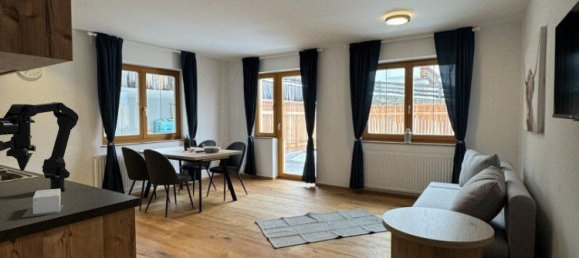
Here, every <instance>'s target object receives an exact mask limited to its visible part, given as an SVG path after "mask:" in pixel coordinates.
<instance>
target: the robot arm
mask: <svg viewBox="0 0 579 258" xmlns="http://www.w3.org/2000/svg"><path fill="white" fill-rule="evenodd" d="M50 112H52V114H53V116H54V117H55V118H56V124H57V127H58V131H57V134H56V137H55V140H54V143H53V144H54V145H53V148H52V151H51V155H50V157H49V158H45V159H44V160H43V164H42V165H41V168H42V169H41V170H42V173H43V176H44V178H45V179H49V190H51V189H61V192H65V191H66V190H67V187H66V186H65V181H66V179H68V178H70V175H71V172H70V171H69V170H68V169H66V162H65V158H64V157H65V154H66V150H67V145H68V142H69V138H70V135H71V131H72V130H73V128H75V127H76V126H77V123H78V121H79V120H80V119H79V118H80V117H79V115H78V113H77V112H76V111H74V109H72V108H70V107H68V106H67V105H65V104H64V103H63V102H58V101H55V102H54V101H53V102H50V103H48V102H47V103H40V104H38V103H37V104H30V103H29V104H28V103H26V104H25V103H14V104H11V105H10V107H9V109H8V111H7V112H6V113H5V115H4V116H3V117H0V136H5V135H6V136H8V135H12V136H11V137H10V140H7V141H3V140H0V152H3V151H5V150H6V152H5V153H6V157H11V158H14V159H15V160H16V161H17V164H18V167H19V170H20V171H22V172H23V171H25V169H26V168H27V165H28V163H29V162H30V160H31V157H32V155H33V154H34V153H33V152H36V149H37V146H36V145H35V144H32V143H31V142H32V140H31V139H32V138H33V136H32V134H31V132H32V131H31V124H34V123H36V121H35V120H34V119H33V118H32V117H35V116H37V115H39V114H44V113H50Z"/></svg>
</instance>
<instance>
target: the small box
mask: <svg viewBox="0 0 579 258" xmlns="http://www.w3.org/2000/svg"><path fill="white" fill-rule="evenodd" d="M61 193H62V191H61V189H51V190H50V189H43V190H42V189H40V190H36V191H35V192H34V194H33V197H32V208H33V215H34V214H43V213H51V212H59V210H60V205H61V202H62V201H61V199H62V198H61V196H62V195H61Z"/></svg>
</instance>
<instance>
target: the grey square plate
mask: <svg viewBox="0 0 579 258" xmlns="http://www.w3.org/2000/svg"><path fill="white" fill-rule="evenodd" d="M64 205H65V204H60V210H59V212H51V213H43V214H34V215H33V207H29V208H28V209H27V210H26V211H25V212H24V213H23V215H22V217H21V218H30V217H38V216H49V215H57V214H60V213H61V211H62V209H63V207H64Z"/></svg>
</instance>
